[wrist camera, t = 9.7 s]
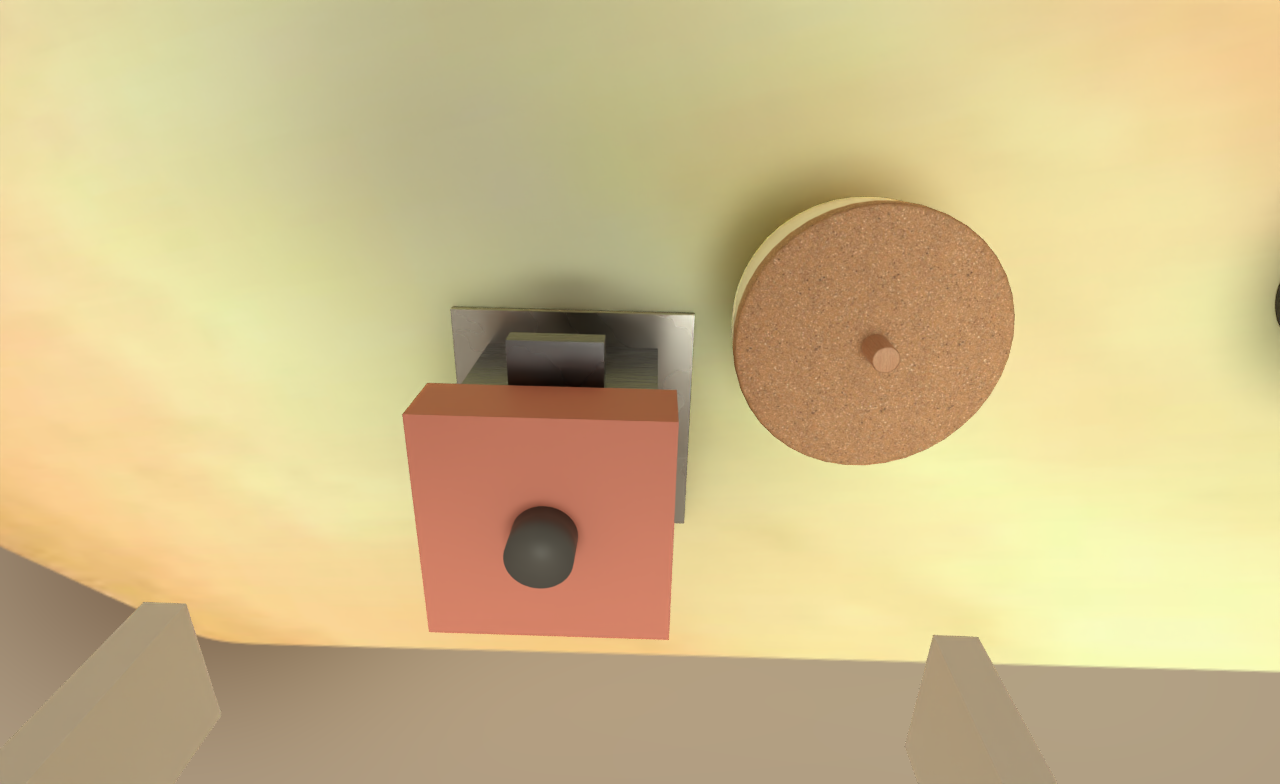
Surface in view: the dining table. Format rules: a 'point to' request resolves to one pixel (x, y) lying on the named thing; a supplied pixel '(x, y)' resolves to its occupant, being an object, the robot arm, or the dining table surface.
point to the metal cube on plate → (581, 355)
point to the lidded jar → (870, 329)
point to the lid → (544, 508)
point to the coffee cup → (1278, 305)
